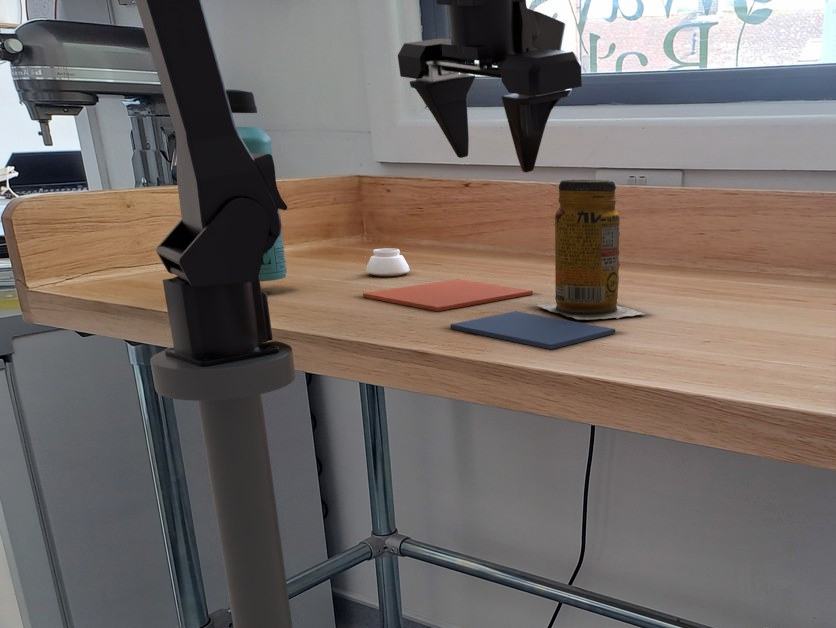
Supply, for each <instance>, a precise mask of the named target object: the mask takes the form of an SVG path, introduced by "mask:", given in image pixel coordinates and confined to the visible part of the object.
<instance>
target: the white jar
mask: <svg viewBox="0 0 836 628" xmlns="http://www.w3.org/2000/svg"><path fill="white" fill-rule="evenodd" d="M400 253H401V251H400V249H399V248H393V247H392V248H391V247H389V248H388V247H383V248H375V249H373V255H371V256H370V257H369V261H368V262H367V266H366V268H365V271H366V273H368V274H369V275H372V276H375V277H387V278H389V277H398V276H403V275H406V274H407V273H408V272H410V266H409V264H408V263H407V261H406V258H405V257H404V256H403V255H402V254H400Z"/></svg>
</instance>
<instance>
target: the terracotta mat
mask: <svg viewBox="0 0 836 628" xmlns="http://www.w3.org/2000/svg"><path fill="white" fill-rule="evenodd" d="M533 294H534V290H532V289H524V288H519V287H511V286H505V285H500V284H492V283H487V282H479V281H472V280H467V279H459V278H456V279H449V280H443V281H437V282H430V283H423V284H416V285H410V286H409V285H408V286H402V287H396V288H388V289H383V290H376V291H368V292H363V293H362V297H363V298H367V299H372V300H377V301H382V302H387V303H393V304H398V305H404V306H408V307H412V308H413V307H414V308H417V309H418V308H419V309H424V310H429V311H434V312H440V311H441V312H442V311H447V310H453V309H458V308H464V307H470V306H476V305H480V304H485V303H492V302H497V301H503V300H509V299H513V298H514V299H515V298H520V297H526V296H531V295H533Z"/></svg>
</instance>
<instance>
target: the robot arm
mask: <svg viewBox="0 0 836 628" xmlns="http://www.w3.org/2000/svg"><path fill="white" fill-rule="evenodd" d="M134 1H135V4H136V7H137V10H138V15H139V17H140V20H141V24H142V27H143V30H144V34H145V37H146V40H147V44H148V47H149V50H150V54H151V57H152V60H153V63H154V68H155V70H156V74H157V77H158V80H159V83H160V87H161V91H162V94H163V97H164V100H165V103H166V107H167V110H168V114H169V117H170V120H171V123H172V124H171V125H172V127H173V130H174V133H175V141H176V183H177V191H178V199H179V200H178V201H179V207H180V215H181V218H180V220H179V221H178V222H177V223H176V225H175V226H174V227H173V228H172V229H171V230H170V231H169V232H168V233H167V235H166V236H165V237H164V238H163V239H162V241H161V242H160V243H159V244H158V245H157V246H156V248H155V250H156V255H157V256H158V257H159V259H160V261H161V262H162V264H163V266H164V268H165V269H166V271H167V272H168V273H169V274H171V275H175V276H174V277H172V278H163V279H162V285H163V292H164V297H165V304H166V309H167V316H168V320H169V327H170V333H171V339H172V344H173V345H172V347H168V348H165V349H164V350H165V354H166V355H167V356H170V357H173V358H176V359H179V360H182V361H185V362H188V363H191V364H194V365H197V366H200V367H208V366H214V365H219V364H224V363H230V362H235V361H240V360H245V359H250V358H256V357H261V356H266V355H271V354H276V353H279V347H278V346H274V345H270V344H268V343H271V342H272V341H274V340H273V332H272V323H271V314H270V308H269V300H268V294H267V293H266V292H265V291H263V290H262V286H261V282H260V278H259V272H260V268H261V264H262V260H263V255H264V254H265V253H266V252H267V251H269V250H270V249H271V248H272V247H273V245H274V243H275V242H276V240H277V238H278V237H279V236H280V233H281V232H282V226H281V225H282V219H281V218H282V217H281V213H280V210H283V211H287V210H288V206H287V204H286V202H285V201H284V200H283V198H282V197H281V193H280V191H279V189H278V185H277V184H278V183H277V178H276V167H275V163H274V157H273V154H272V155H271V154H263V153H250V151H249V150H248V148H247V147H246V145H245V143H244V142H243V140H242V138H241V137H240V135H239V133H238V131H237V128H236V127H237V125H236V123H235V119H234V116H233V113H232V111H231V108H230V104H229V100H228V97H227V93H226V90H227V89H226V85H225V83H224V79H223V75H222V71H221V68H220V64H219V60H218V57H217V53H216V49H215V46H214V43H213V39H212V34H211V31H210V28H209V24H208V21H207V17H206V13H205V9H204V5H203V1H202V0H134ZM435 1H436V5H441V6H442V5H443V6H447V15H448V25H449V35H450V38H444V37H443V38H442V37H440V38H434V39H426V40H419V41H410V42H405V43H403V44H402V47H401V49H400V50H399V52H398V54H397V61H398V68H399V75H400V78H406V79H407V78H408V79H415V80H410V81H409V86H410V88H412V89H415V90H416V92H417V93H418V95H419V96H420V98H421V99H422V101H423V103H424V104H425V105H426V107H427V108H428V110H429V111H430V113H431V114H432V115H431V116H433V118H434V119H435V121H436V123H437V124H438V126H439V128H440V129H441V131H442V133H443V135H444V136H445V138H446V139H447V142H448V143H449V145H450V147H451V148H452V150H453V152H454V153H455V156H456V157H457V158H460V159H463V158H466V157H468V156H469V146H470V145H469V143H470V136H469V134H470V133H469V117H468V116H469V115H468V94H469V92H470V90H471V88H472V86H473V84H474V82H475V79H476V76H482V77H488V78H496V79H501V83H502V84H503V86H504V87H505V89H506V90H507V92H508V93H510V94H506V95H501V101H502V104H503V108H504V113H505V116H506V119H507V124H508V126H509V131H510V135H511V138H512V142H513V147H514V149H515V153H516V157H517V161H518V163H519V166H520V168H521V171H522V172H523V173H530V172H532V171H534V169H535V166H536V162H537V158H538V155H539V152H540V148H541V145H542V144H541V143H542V140H543V137H544V132H545V129H546V126H547V123H548V120H549V117H550V115H551V112H552V111H553V109H554V108H555V107H556V105H558V103H559V102H560V100H561V99H564V98H567V97H570V94H571V93H572V90H573V89H576V88H581V87H582V86H583V84H582V62H581V60H580V59H579V57H578V56H577V55H576V53H575V52H574V51H573V50H572V51H571V50H562V47H563V43H564V42H563V41H564V36H565V30H566V25H567V24H566V23H565V22H564V21H561V20H559V19H556V18H554V17H551V16H549V15H547V14H545V13H542V12H540V11H536V10H533V9H530V8H528V5H527V0H435ZM476 61H477V62H478V63H476ZM272 157H273V158H272Z"/></svg>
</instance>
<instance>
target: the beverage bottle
mask: <svg viewBox="0 0 836 628" xmlns="http://www.w3.org/2000/svg"><path fill="white" fill-rule="evenodd" d="M226 93H227V97H228V100H229V104H230V108H231V111H232V114H257V113H258V108H257V105H256V101H255V95H254V93H253V92H252V91H246V90H242V89H226ZM236 128H237V131H238V133H239V135H240V137H241V138H242V140H243V142H244V143H245V145H246V147H247V148H248V150H249V151H250V153H263V154H271V155H272V158H273V159H274V157H273V151H272V150H273V149H272V138H271V137H270V136H269V135H268V134H267V133H266V132H265V131H264V130H262V129H261V128H260V127H254V126H236ZM281 227H283V226H282V224H281ZM283 235H284V233H283V231H281V233H280V236H279V237H278V238H277V240H276V242H275V243H274V245H273V247H272V248H271V249H270V250H269V251H267V252H266V253H265V254H264V255H263V260H262V264H261V268H260V272H259V278H260V283H261V282H262V283H263V282H271V281H272V282H273V281H277V280H282V279H285V278H286V277H287V263H286V262H287V261H286V255H285V253H286V252H285V247H284V244H285V243H284V239H283Z"/></svg>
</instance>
